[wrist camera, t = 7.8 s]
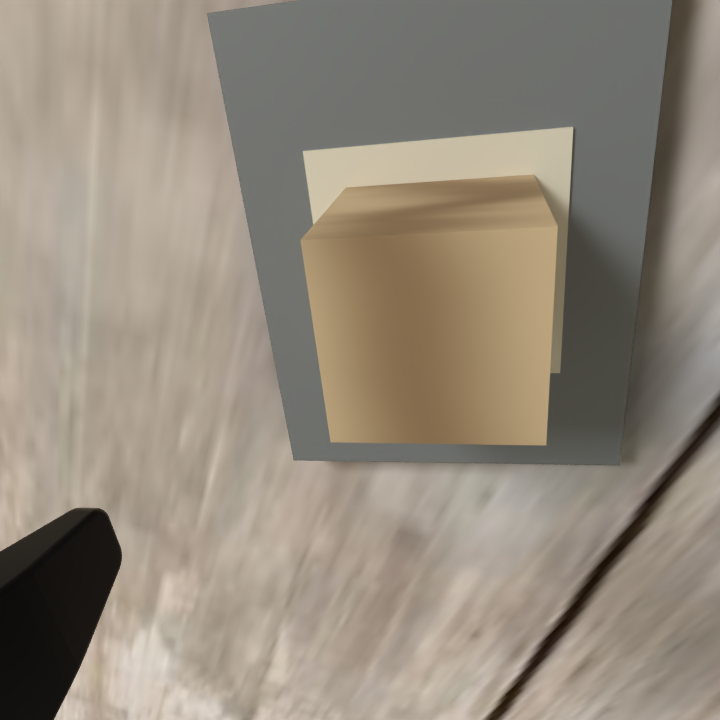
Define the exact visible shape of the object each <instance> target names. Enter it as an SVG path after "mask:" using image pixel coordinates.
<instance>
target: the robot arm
mask: <svg viewBox="0 0 720 720" xmlns="http://www.w3.org/2000/svg"><path fill="white" fill-rule="evenodd" d="M121 561H122V552H121V547H120V545H119V542H118V539H117V537H116V534H115V532H114V529H113V526H112V524H111V521H110V519H109V516H108V514H107V513H106V512H105V511H104V510H102V509H100V508H75V509H73V510H71V511H69V512H67V513H65V514H64V515H62V516H60V517H59V518H57V519H55V520H53V521H52V522H50V523H48V524H47V525H45V526H43V527H41V528H40V529H38V530H36V531H35V532H33V533H31V534H29V535H28V536H26V537H24V538H23V539H21V540H19V541H18V542H16V543H14V544H12V545H11V546H9V547H7V548H6V549H4V550H2V551H0V720H54V718H55V716H56V714H57V712H58V710H59V708H60V706H61V704H62V703H63V701H64V699H65V697H66V695H67V693H68V691H69V689H70V687H71V685H72V683H73V681H74V678H75V676H76V674H77V672H78V670H79V668H80V666H81V663H82V661H83V659H84V656H85V654H86V652H87V649H88V647H89V644H90V642H91V639H92V637H93V634H94V632H95V629H96V627H97V624H98V622H99V619H100V617H101V614H102V612H103V609H104V606H105V604H106V601H107V599H108V596H109V594H110V591H111V589H112V586H113V584H114V581H115V579H116V576H117V574H118V571H119V569H120V565H121Z"/></svg>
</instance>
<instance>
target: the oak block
mask: <svg viewBox="0 0 720 720" xmlns="http://www.w3.org/2000/svg"><path fill="white" fill-rule="evenodd" d="M557 232H558V226H557V224H556V222H555V219H554V217H553V215H552V213H551V211H550V209H549V206H548V204H547V202H546V200H545V198H544V196H543V194H542V191H541V189H540V187H539V185H538V183H537V181H536V178H535V176H534V174H533V175H518V176H504V177H490V178H475V179H461V180H446V181H432V182H417V183H403V184H388V185H374V186H360V187H346V188H345V189H344V190H343V191H342V193H341V194H340V195H339V196H338V197H337V198H336V199H335V201H334V202H333V203H332V204H331V205H330V206H329V208H328V209H327V210H326V211H325V212H324V213H323V214H322V216H321V217H320V218H319V219H318V220H317V221H316V223H315V224H314V225H313V226H312V227H311V228H310V230H309V231H308V232H307V233H306V234H305V235H304V236H303V238H302V239H301V247H302V254H303V260H304V267H305V274H306V281H307V287H308V294H309V301H310V308H311V314H312V321H313V328H314V334H315V341H316V348H317V355H318V361H319V368H320V375H321V381H322V388H323V395H324V402H325V408H326V415H327V422H328V429H329V435H330V442H344V443H411V444H479V445H546V441H547V422H548V403H549V384H550V365H551V346H552V327H553V308H554V289H555V270H556V251H557Z"/></svg>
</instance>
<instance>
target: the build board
mask: <svg viewBox="0 0 720 720" xmlns="http://www.w3.org/2000/svg"><path fill="white" fill-rule="evenodd" d="M671 8H672V0H298V1H291V2H284V3H276V4H269V5H262V6H255V7H248V8H241V9H234V10H227V11H220V12H213V13H207V16H208V22H209V27H210V32H211V37H212V42H213V47H214V52H215V58H216V63H217V68H218V73H219V78H220V83H221V88H222V94H223V99H224V104H225V109H226V114H227V119H228V124H229V130H230V135H231V140H232V145H233V150H234V155H235V160H236V166H237V171H238V176H239V181H240V186H241V191H242V196H243V202H244V207H245V212H246V217H247V222H248V227H249V232H250V238H251V243H252V248H253V253H254V258H255V263H256V268H257V274H258V279H259V284H260V289H261V294H262V299H263V304H264V310H265V315H266V320H267V325H268V330H269V335H270V340H271V346H272V351H273V356H274V361H275V366H276V371H277V376H278V382H279V387H280V392H281V397H282V402H283V407H284V412H285V418H286V423H287V428H288V433H289V438H290V443H291V448H292V454H293V459H294V460H307V461H372V462H438V463H504V464H570V465H619V464H620V455H621V447H622V438H623V429H624V420H625V412H626V403H627V394H628V385H629V376H630V368H631V359H632V350H633V341H634V333H635V324H636V315H637V306H638V298H639V289H640V280H641V271H642V262H643V254H644V245H645V236H646V227H647V219H648V210H649V201H650V192H651V183H652V175H653V166H654V157H655V148H656V140H657V131H658V122H659V113H660V104H661V96H662V87H663V78H664V69H665V61H666V52H667V43H668V34H669V25H670V17H671ZM533 174H534V176H535V178H536V181H537V183H538V185H539V187H540V189H541V191H542V194H543V196H544V198H545V200H546V202H547V204H548V206H549V209H550V211H551V213H552V215H553V217H554V219H555V222H556V224H557V226H558V232H557V251H556V270H555V289H554V308H553V327H552V346H551V365H550V384H549V403H548V422H547V441H546V445H479V444H411V443H344V442H330V435H329V429H328V422H327V415H326V408H325V402H324V395H323V388H322V381H321V375H320V368H319V361H318V355H317V348H316V341H315V334H314V328H313V321H312V314H311V308H310V301H309V294H308V287H307V281H306V274H305V267H304V260H303V254H302V247H301V239H302V238H303V236H304V235H305V234H306V233H307V232H308V231H309V230H310V228H311V227H312V226H313V225H314V224H315V223H316V221H317V220H318V219H319V218H320V217H321V216H322V214H323V213H324V212H325V211H326V210H327V209H328V208H329V206H330V205H331V204H332V203H333V202H334V201H335V199H336V198H337V197H338V196H339V195H340V194H341V193H342V191H343V190H344V189H345V188H346V187H360V186H374V185H388V184H403V183H417V182H432V181H446V180H461V179H475V178H490V177H504V176H518V175H533Z"/></svg>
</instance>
